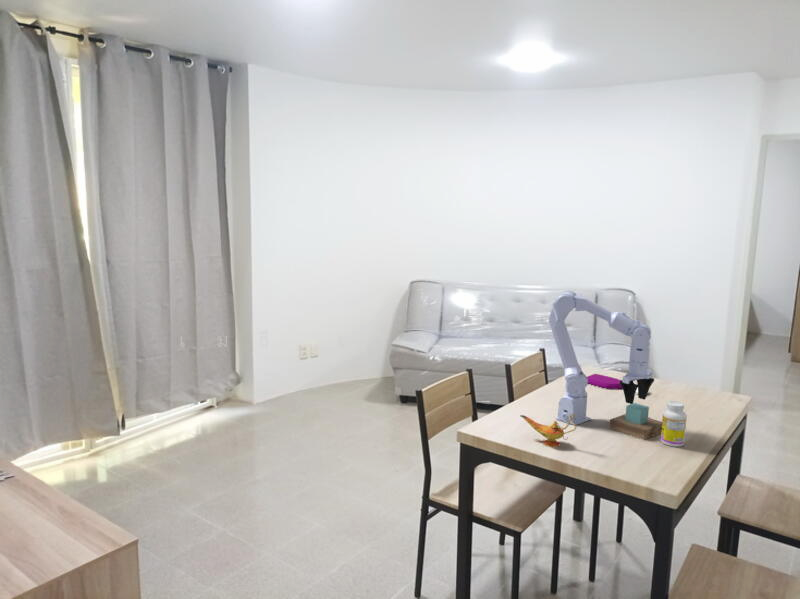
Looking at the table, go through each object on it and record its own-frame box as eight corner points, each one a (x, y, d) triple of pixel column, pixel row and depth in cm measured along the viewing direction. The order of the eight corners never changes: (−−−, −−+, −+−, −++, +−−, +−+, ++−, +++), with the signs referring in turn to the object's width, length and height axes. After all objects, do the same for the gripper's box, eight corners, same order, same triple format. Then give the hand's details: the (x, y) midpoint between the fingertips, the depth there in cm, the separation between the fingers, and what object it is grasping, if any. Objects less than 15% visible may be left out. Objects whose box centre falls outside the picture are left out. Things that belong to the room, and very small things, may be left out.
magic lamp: (523, 432, 183) (524, 399, 182) (578, 445, 173) (580, 410, 172) (514, 438, 178) (515, 405, 176) (571, 453, 168) (573, 417, 166)
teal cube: (639, 425, 182) (640, 410, 182) (625, 420, 186) (626, 405, 186) (647, 421, 186) (648, 406, 185) (633, 417, 189) (634, 402, 189)
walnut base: (643, 439, 178) (644, 430, 178) (609, 428, 187) (609, 419, 187) (663, 431, 185) (664, 422, 185) (629, 420, 195) (629, 412, 194)
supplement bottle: (663, 437, 180) (667, 398, 179) (686, 442, 176) (690, 403, 174) (657, 443, 175) (661, 403, 173) (681, 449, 171) (684, 408, 169)
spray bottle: (595, 379, 244) (652, 393, 227) (582, 384, 237) (640, 399, 219) (596, 372, 244) (653, 386, 226) (582, 377, 236) (640, 392, 219)
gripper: (638, 366, 177) (634, 408, 179) (662, 360, 186) (658, 399, 188) (617, 361, 182) (614, 402, 185) (642, 355, 191) (638, 394, 193)
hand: (635, 400), depth 187 cm, fingers open, 7 cm apart
